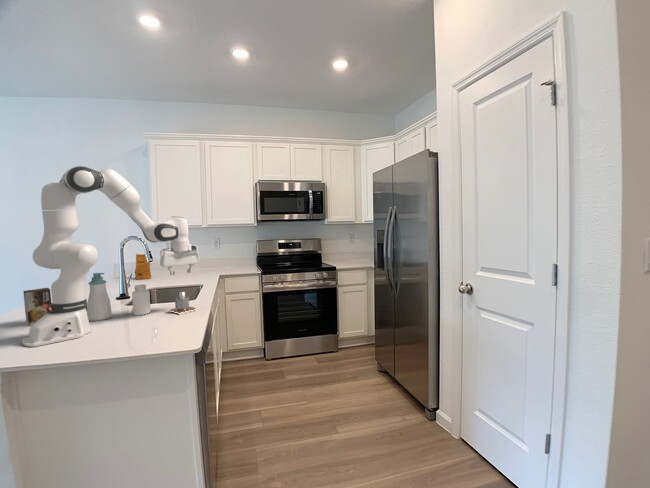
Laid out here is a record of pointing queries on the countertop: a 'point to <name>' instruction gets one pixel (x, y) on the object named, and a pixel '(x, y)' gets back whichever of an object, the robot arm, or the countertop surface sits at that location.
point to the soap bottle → (98, 299)
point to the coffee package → (142, 267)
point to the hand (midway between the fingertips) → (181, 273)
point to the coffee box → (36, 304)
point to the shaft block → (182, 296)
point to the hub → (181, 303)
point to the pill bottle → (141, 300)
